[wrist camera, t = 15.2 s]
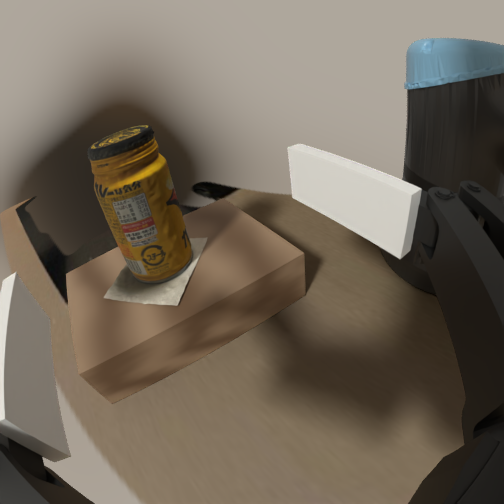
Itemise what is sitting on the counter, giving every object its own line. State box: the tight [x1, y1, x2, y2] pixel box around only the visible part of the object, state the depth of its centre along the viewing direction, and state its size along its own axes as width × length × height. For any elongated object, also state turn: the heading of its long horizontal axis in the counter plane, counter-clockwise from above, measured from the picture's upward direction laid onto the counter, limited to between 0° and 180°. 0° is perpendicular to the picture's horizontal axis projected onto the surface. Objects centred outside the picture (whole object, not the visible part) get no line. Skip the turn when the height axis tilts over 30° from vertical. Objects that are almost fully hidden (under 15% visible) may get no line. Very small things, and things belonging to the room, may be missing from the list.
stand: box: [66, 198, 306, 404], centre depth 27 cm, size 20×14×5 cm
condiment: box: [88, 125, 208, 306], centre depth 21 cm, size 7×8×12 cm
